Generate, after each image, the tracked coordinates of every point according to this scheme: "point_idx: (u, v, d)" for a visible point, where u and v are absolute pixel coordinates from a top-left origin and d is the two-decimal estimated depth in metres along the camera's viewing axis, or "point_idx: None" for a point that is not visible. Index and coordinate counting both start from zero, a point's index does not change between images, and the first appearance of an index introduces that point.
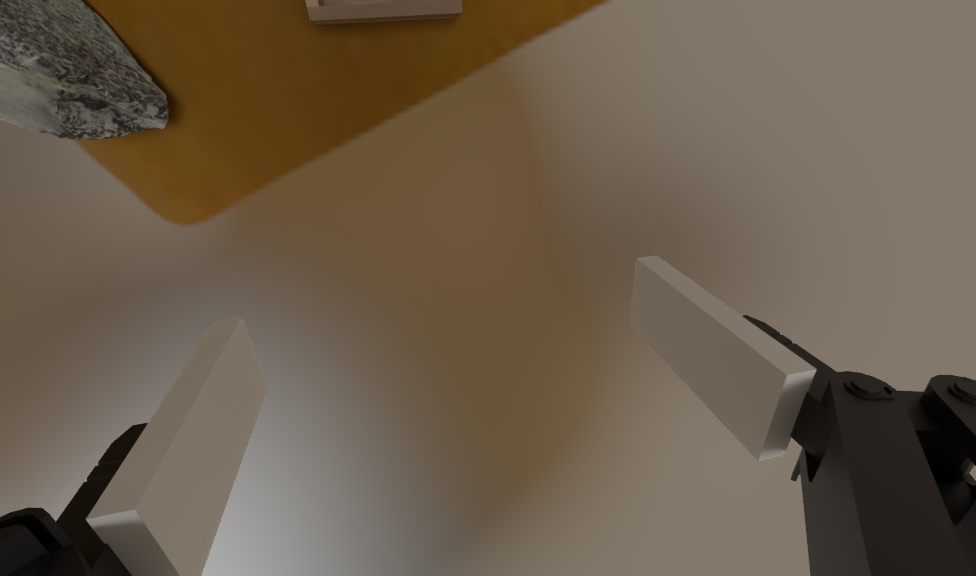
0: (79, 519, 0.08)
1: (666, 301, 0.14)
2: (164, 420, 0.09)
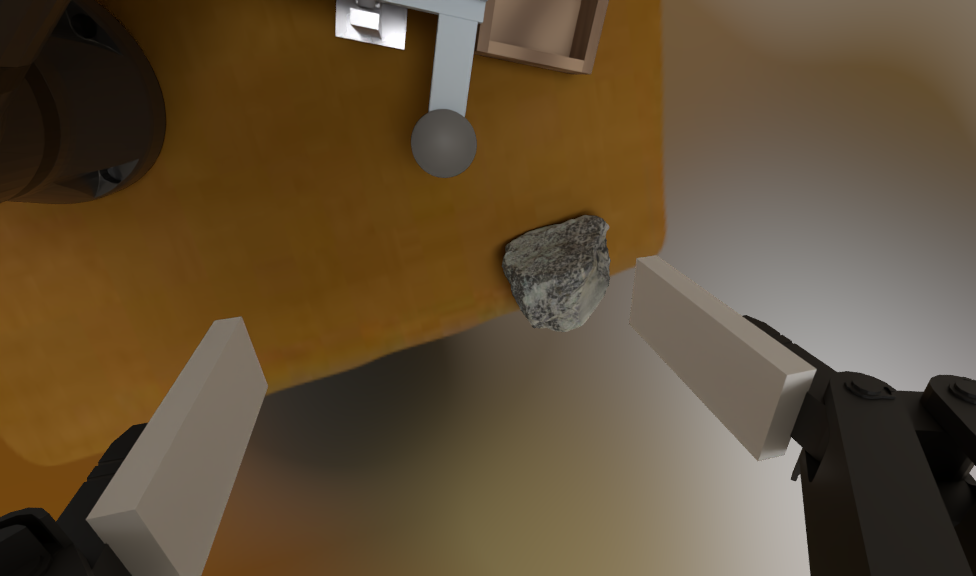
0: (79, 520, 0.08)
1: (666, 301, 0.14)
2: (164, 420, 0.09)
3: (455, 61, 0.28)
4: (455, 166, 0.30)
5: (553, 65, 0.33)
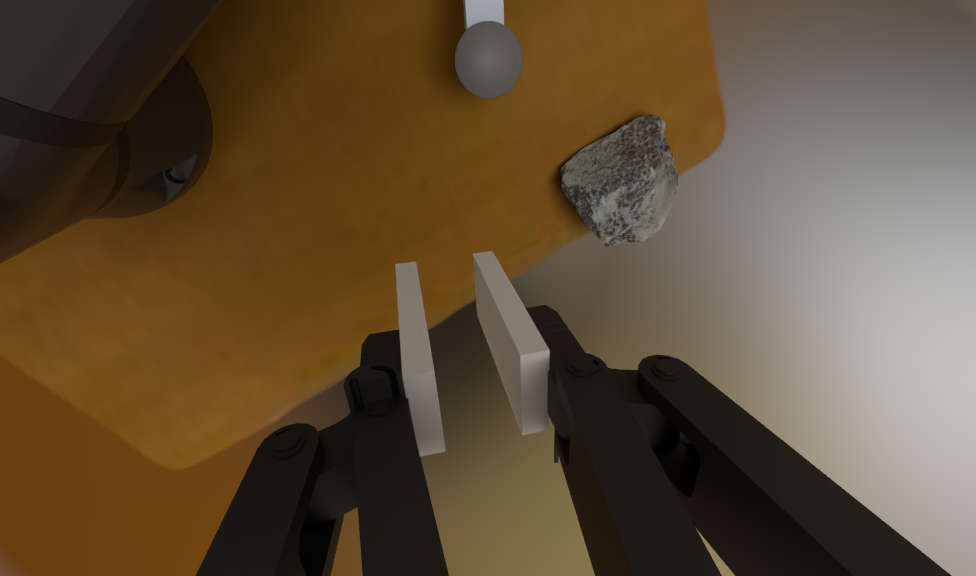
0: None
1: (484, 292, 0.15)
2: (410, 324, 0.12)
3: None
4: (504, 82, 0.29)
5: None
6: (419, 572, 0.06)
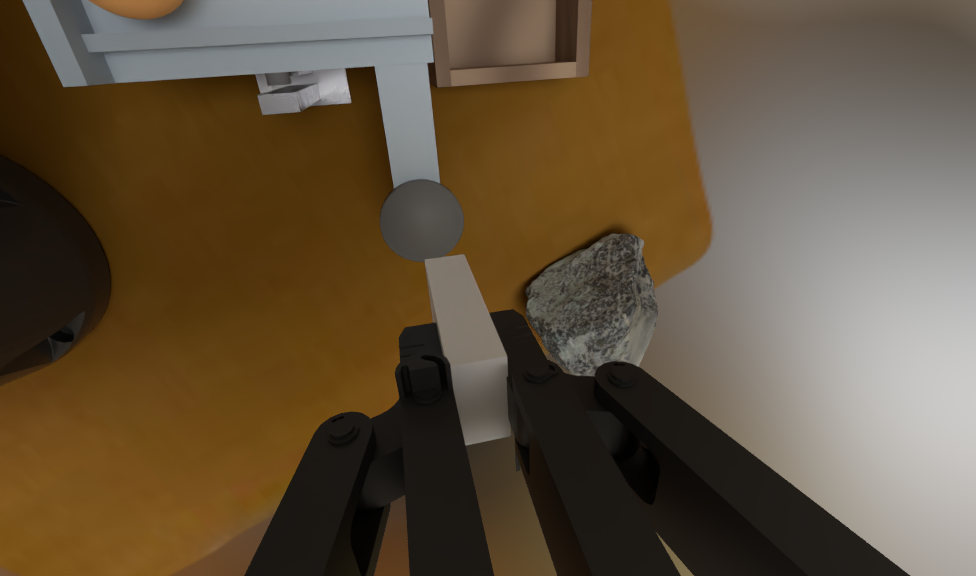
0: None
1: None
2: (448, 316, 0.12)
3: (411, 119, 0.21)
4: (443, 244, 0.24)
5: (538, 78, 0.25)
6: (463, 559, 0.07)
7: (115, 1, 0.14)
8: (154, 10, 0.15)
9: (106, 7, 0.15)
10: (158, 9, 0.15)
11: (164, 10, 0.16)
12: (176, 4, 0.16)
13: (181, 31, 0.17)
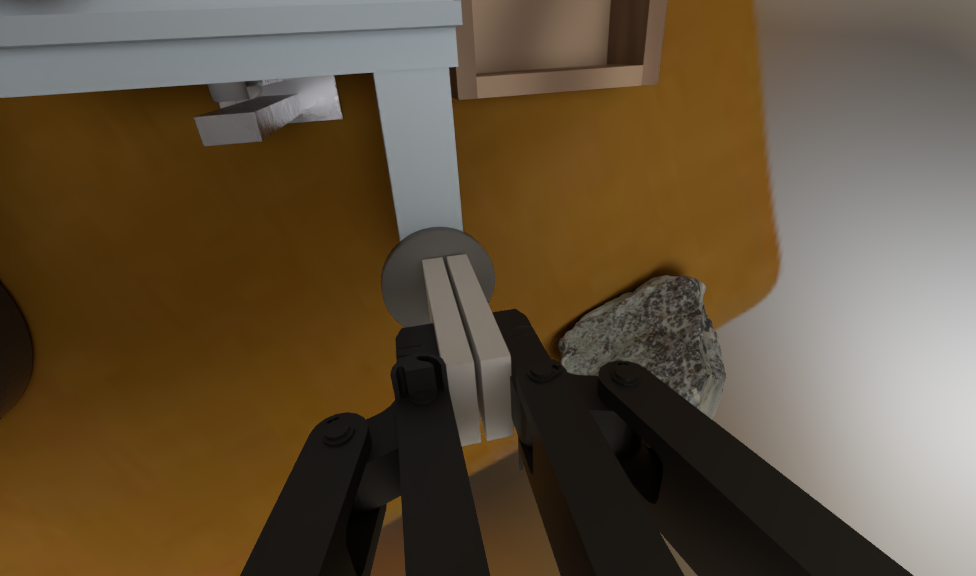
0: None
1: (455, 295, 0.15)
2: (444, 317, 0.12)
3: (425, 147, 0.15)
4: None
5: (592, 87, 0.19)
6: (459, 560, 0.07)
7: None
8: None
9: None
10: None
11: None
12: None
13: (60, 17, 0.10)
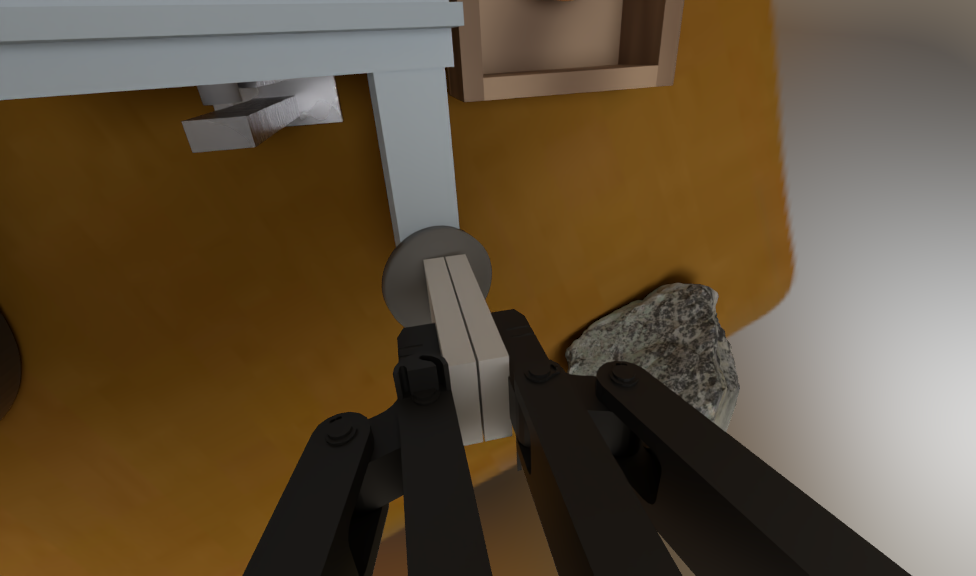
0: None
1: None
2: (446, 317, 0.12)
3: (423, 147, 0.15)
4: None
5: (604, 88, 0.18)
6: (461, 560, 0.07)
7: None
8: None
9: None
10: None
11: None
12: None
13: (38, 10, 0.09)
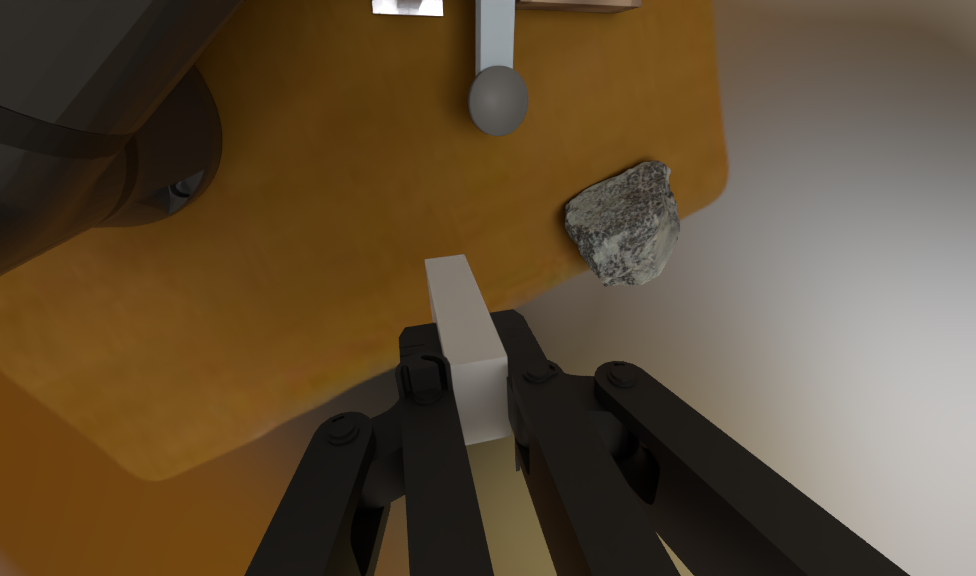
0: None
1: None
2: (448, 316, 0.12)
3: (500, 14, 0.28)
4: (511, 122, 0.31)
5: (600, 3, 0.31)
6: (462, 560, 0.07)
7: None
8: None
9: None
10: None
11: None
12: None
13: None
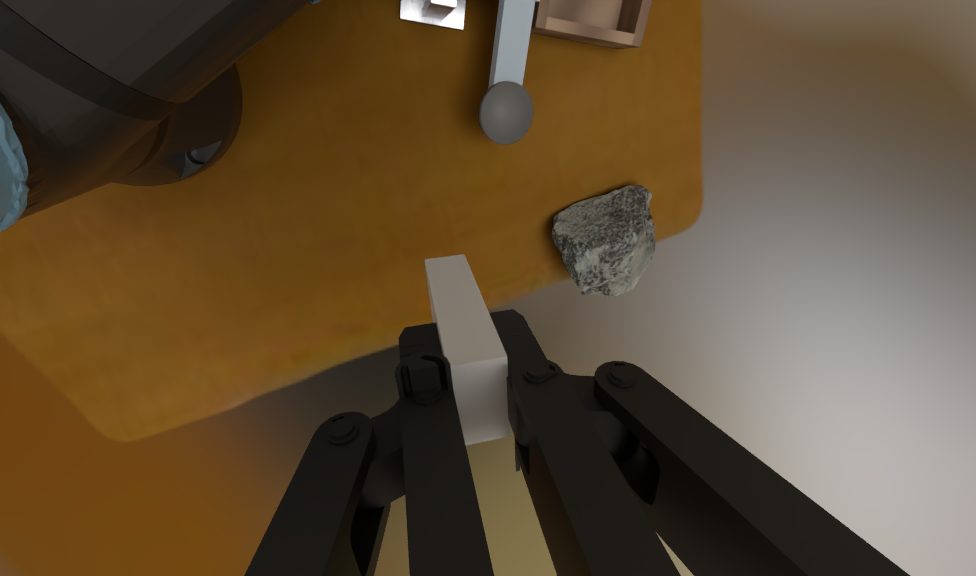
0: None
1: None
2: (448, 316, 0.12)
3: (516, 37, 0.31)
4: (515, 133, 0.34)
5: (605, 39, 0.35)
6: (463, 559, 0.07)
7: None
8: None
9: None
10: None
11: None
12: None
13: None
